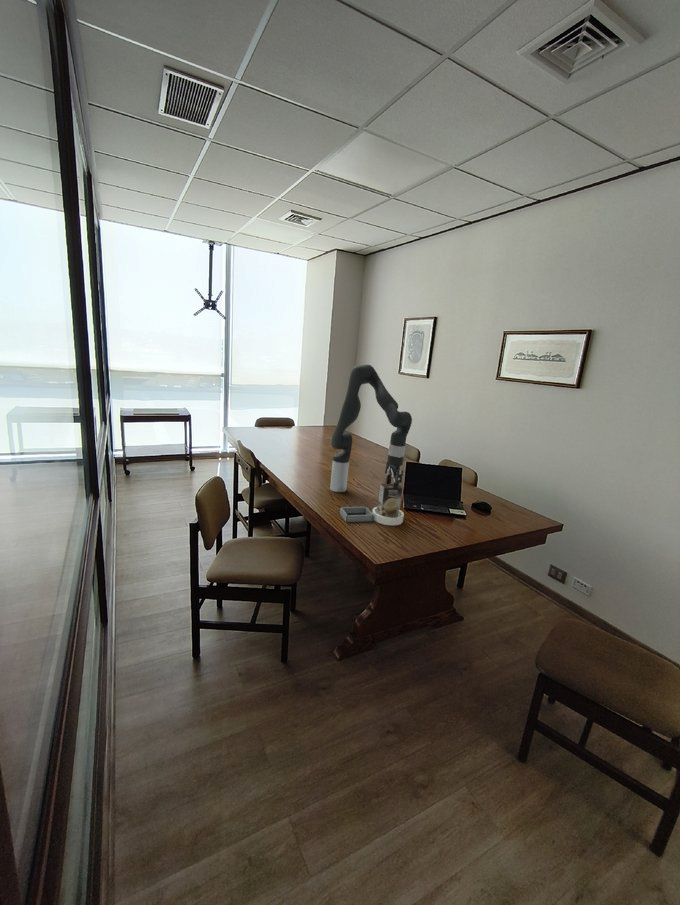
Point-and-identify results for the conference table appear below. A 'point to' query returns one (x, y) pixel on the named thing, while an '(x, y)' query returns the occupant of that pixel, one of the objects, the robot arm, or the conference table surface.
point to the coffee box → (389, 501)
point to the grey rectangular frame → (356, 518)
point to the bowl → (387, 518)
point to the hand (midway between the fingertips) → (391, 486)
